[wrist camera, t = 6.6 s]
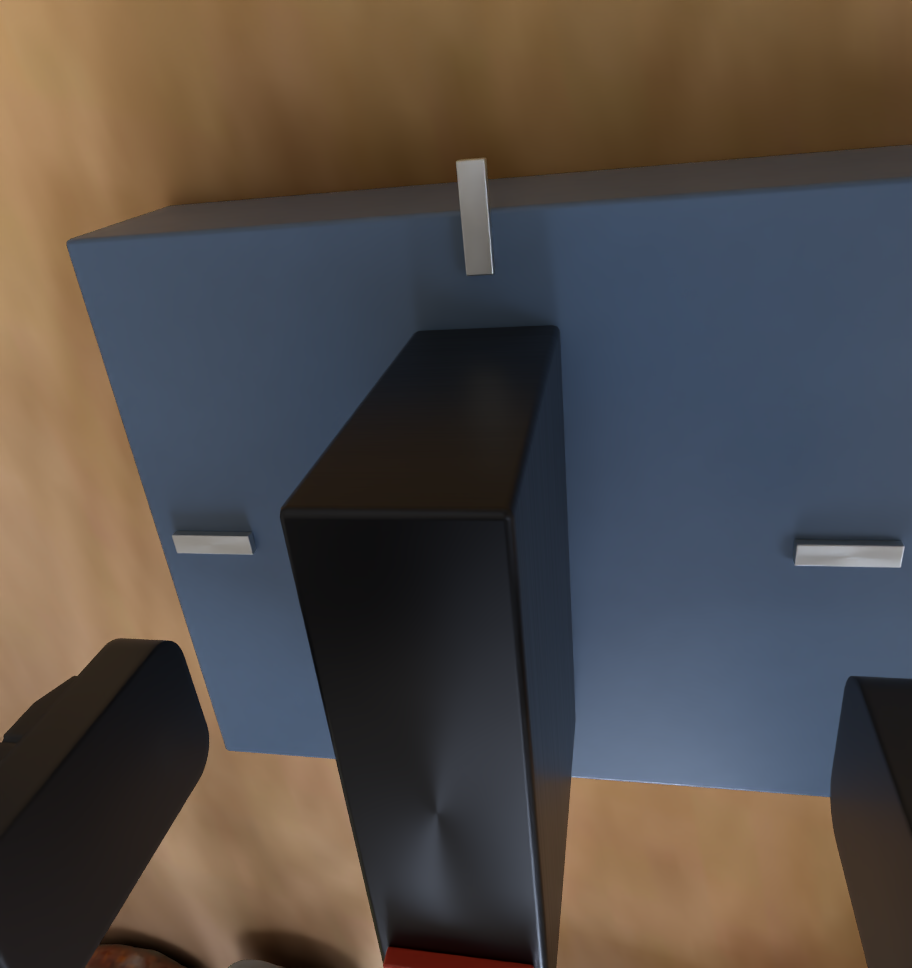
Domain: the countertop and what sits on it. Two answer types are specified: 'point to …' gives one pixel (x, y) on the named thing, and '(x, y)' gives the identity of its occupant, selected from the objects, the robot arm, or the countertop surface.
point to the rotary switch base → (587, 429)
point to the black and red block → (449, 643)
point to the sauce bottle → (129, 958)
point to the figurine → (253, 964)
